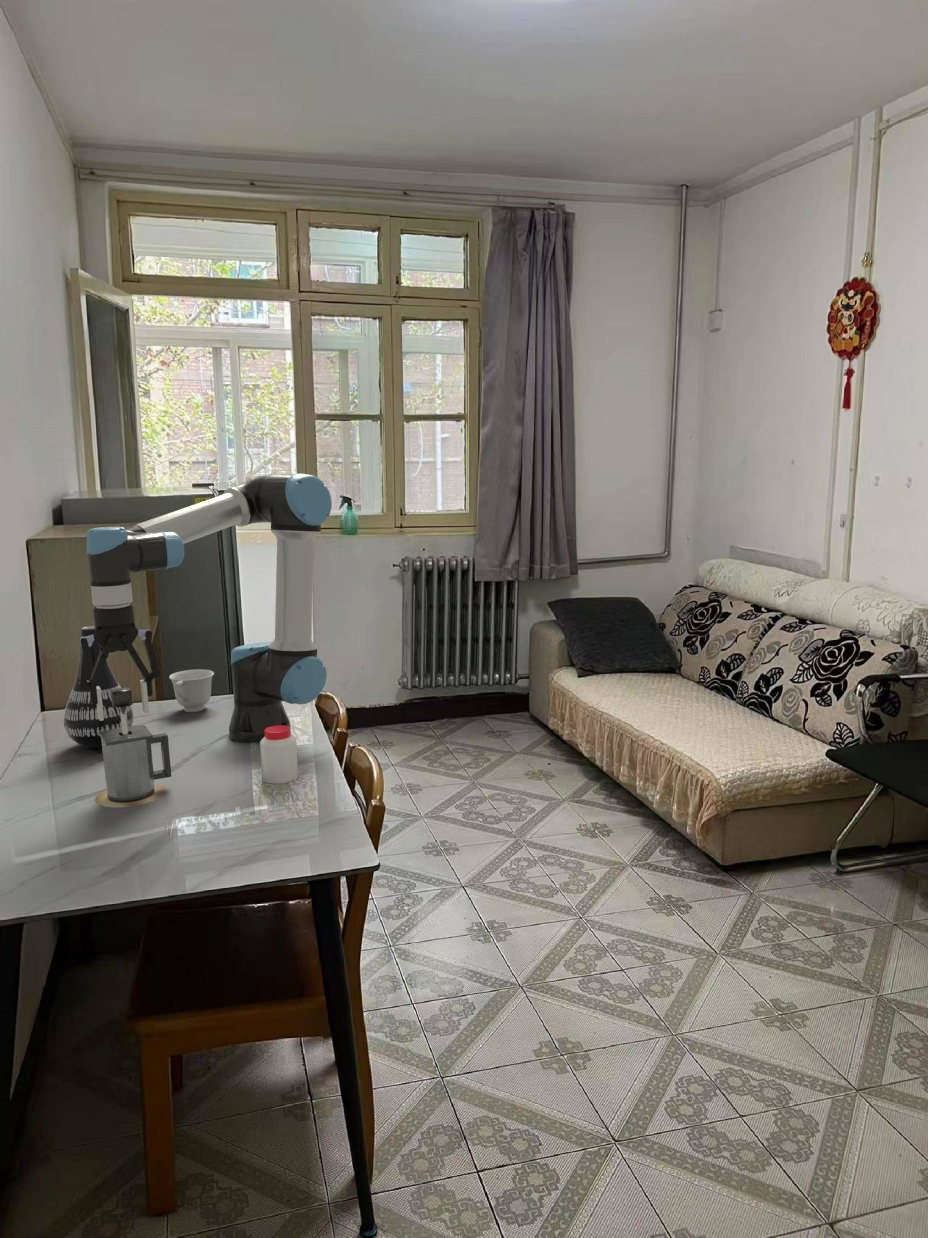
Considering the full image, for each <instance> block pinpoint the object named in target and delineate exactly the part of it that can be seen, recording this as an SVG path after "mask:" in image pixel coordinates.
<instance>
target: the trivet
mask: <svg viewBox="0 0 928 1238" xmlns="http://www.w3.org/2000/svg"><path fill="white" fill-rule="evenodd" d="M154 784H155V787H154V789H155V792H154V794H153V795H151V796H150V797H148V798H146V799H143V800H139V801H135V802H127V803H117V802H112V801H110V800H108V797H107V790H106V789H105V790H104V791H101V792H100V793H98V794H97V795H96V796H95V799H94V802H95V803H96V804H97V805H99V806H101V807H106V808H130V807H135V806H142V805H145V804H148V803H151V802H154V801H156V800H158V799H159V800H160V799H161V798H162V797H164V795H165V794H166V793H167V791H168V789H167V787H166V786H165V785H164V784H160V783H157V782H154Z"/></svg>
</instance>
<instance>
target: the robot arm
mask: <svg viewBox="0 0 928 1238" xmlns="http://www.w3.org/2000/svg"><path fill="white" fill-rule="evenodd" d="M332 505H333V501H332V496H331V493H330V491H329V489H328V486H327V485H325V483H324V481H323V480H322V479H320V478H319V477H317V476H315V475H313V474H307V473H306V474H305V473H281V474H277V473H270V474H264V475H260V476H257V477H254V478H252V479H250V480H247V481H245V482H241V483H239V484H237V485H234V486H230V487H227V488H226V489H225V490H224V491H223V494H221V495H218V496H215V497H213V498H209V499H206V500H203V501H201V502H198V503H194V504H192V505H189V506H186V507H183V508H180V509H178V510H174V511H172V512H168V513H166V514H163V515H159V516H157V517H153V518H151V519H149V520H145V521H143V522H139V523H136V524H134V525H131V526H128V527H123V526H107V527H106V526H103V527H94V528H90V529H89V530H88V531H87V532H86V540H85V541H86V554H87V561H88V570H89V571H88V572H89V579H90V589H91V601H92V605H93V606H94V607H93V609H92V613H93V622H94V626H95V630H94V633H93V635H90V636H86V637H84V636H81V635H80V636H79V638H78V641H79V644H80V649H81V659H80V658H79V659H80V670H79V684H80V686H81V687H86V688H89V692H90V701H91V703H92V704H97V713H98V719H99V720H100V721H102V720H104V716H103V706H102V696H101V688H100V687H99V686H97V684H98V681H99V678H100V676H101V673H102V670H103V667H104V664H105V662H106V659H107V660H108V657H109V655H110V653H115V652H126V651H127V653H128V654H129V656H130V658H131V659H132V661H133V662H134V664H135V665H136V667H137V669H138V670H139V672H140V674H141V676H142V677H143V679H140V680H139V684H140V694H141V695H140V696H141V705H142V711H143V712H144V713H145V714H150V709H149V707H150V706H149V698H148V697H152V696H153V694H154V693H153V681H154V679H156V678H159V677H160V676H161V674H162V673H161V671H160V667H159V662H158V659H157V657H156V654H155V649H154V645H153V643H152V640H153V639H152V638H153V632H152V631H151V629H149V628H145V629H138V628H137V626H136V623H135V612H134V611H135V610H134V606H133V604H131V603H132V602H133V601H134V600H133V591H132V580H131V577H132V576H131V574H132V573H135V574H136V573H138V572H148V571H155V570H156V571H157V570H168V569H171V568H176V567H179V566H180V565H181V564H182V562H183V561H184V557H185V545H184V544H187V543H190V542H192V541H195V540H198V539H201V538H204V537H206V536H209V535H211V534H213V533H214V534H215V533H217V532H219V531H222V530H225V529H227V528H230V527H233V526H237V527H246V526H248V525H251V524H256V523H257V524H258V523H260V524H261V523H270V532H271V533H272V534H273V535H274V537H276V566H275V567H276V568H275V569H276V571H275V572H276V574H275V575H276V576H275V577H276V578H275V579H276V580H275V609H274V610H275V613H274V614H275V618H274V620H275V622H274V639H273V640H272V641H261V642H254V643H249V644H245V645H239V646H236V647H234V648H233V649H231V651H230V666H231V667H230V669H231V679H232V692H233V705H234V706H233V711H232V713H231V714H232V715H231V718H230V722H229V726H228V737H229V738H230V739H231V740H232V741H235V742H239V743H249V744H250V743H251V744H253V743H260V741H261V740H262V739H263V738H264V737H265V731H264V730H265V729H266V728H268V727H271V726H277V725H284V726H289V727H290V732H291V733H292V730H291V727H292V726H291V722H290V718H289V716H288V714H287V712H286V709H285V707H284V704H283V702H285V703H287V704H290V705H292V704H293V705H306V704H310V703H311V702H313V701H314V700H316V699H317V698H318V696H319V695H320V694H321V693H322V691H323V690H324V688H325V686H326V683H327V678H328V677H327V675H328V672H327V668H326V665H325V664H324V662H323V661H322V660H321V658H319V657H318V646H317V644H316V643H314V642H313V640H312V625H313V623H312V621H313V594H314V593H313V591H314V590H313V589H314V587H313V586H314V557H315V556H314V552H315V539H316V538H317V537H318V536H319V535H320V534H321V531H322V524H323V523H325V522H326V521H327V520H328V517H329V516H330V514H331V512H332ZM138 636H139V639H140V640H141V641H143V644H144V649H145V653H146V656H147V659H148V663H149V666H150V669H151V671H148V669H147V667H146V665H145V664H144V662H143V661H142V659H141V657H140V656H139V654H138V652H137V650H136V648H135V647H134V645H133V643H134V642H135V640H136V638H137V637H138ZM94 640H96V641H97V642H98V643H99V644H100V645H101V648H100V651H99V655H98V658H97V661H96V664H95V666H94V669H93V672H92V675H91V678H90V680H89V681H88V680H87V675H88V664H89V652H90V650H89V647H91V646H92V642H93V641H94Z"/></svg>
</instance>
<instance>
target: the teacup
mask: <svg viewBox="0 0 928 1238" xmlns="http://www.w3.org/2000/svg"><path fill="white" fill-rule="evenodd" d="M214 675H215V673H214V671H213V670H210V669H205V668H204V669H199V668H198V669H195V668H194V669H186V670H180V671H177V672H174V673H171V674H170V675H169V677H168V678H169V679H170V680H171V683H172V686H173V690H174V696H175V699H176V702H177V703H178V705H180V706H182V707H183V712H186V713H196V712H197V713H198V712H201V711H204V710H205V709H206V706H205V705H206V704H207V703H208V702H209V701H210V700H211V695H212V679H213V676H214ZM203 709H204V710H203Z"/></svg>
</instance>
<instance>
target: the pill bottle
mask: <svg viewBox="0 0 928 1238" xmlns="http://www.w3.org/2000/svg"><path fill="white" fill-rule="evenodd" d="M290 727H291V726H290ZM290 727H289V726H284V725H277V726H271V727H268V728H266V729H265V730H264V731H265V737H264V738H263V739H262V740H261V741H260V742H259V747H260V751H259V752H260V762H261V778H262V781H263V782H265V783H267V784H272V785H274V784H277V785H280V784H287V783H290V782H293V781H295V780H297V779H298V778H299V763H298V759H299V758H298V744H297V743H298V742H297V738H296V737H295V736H294V735H293V734H291V733H292V731H291V732H290Z"/></svg>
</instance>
